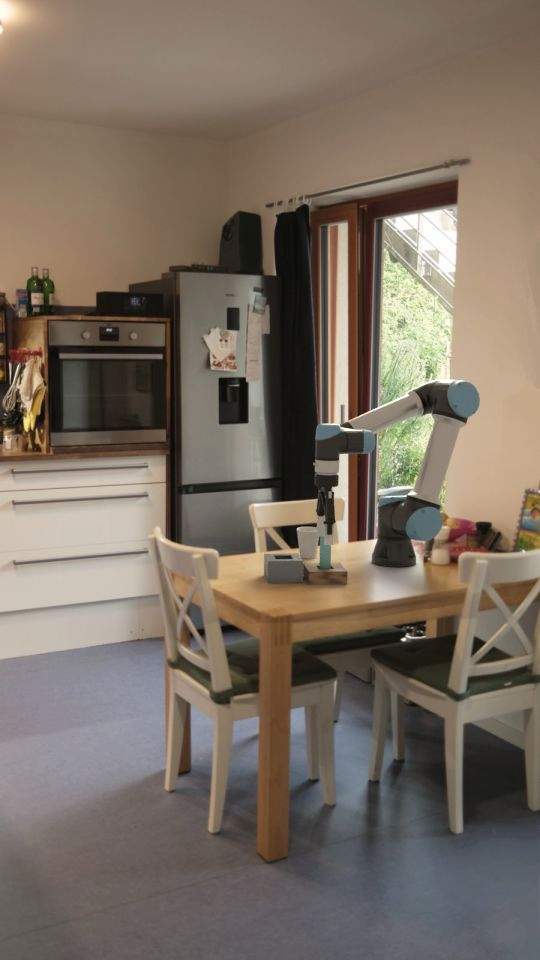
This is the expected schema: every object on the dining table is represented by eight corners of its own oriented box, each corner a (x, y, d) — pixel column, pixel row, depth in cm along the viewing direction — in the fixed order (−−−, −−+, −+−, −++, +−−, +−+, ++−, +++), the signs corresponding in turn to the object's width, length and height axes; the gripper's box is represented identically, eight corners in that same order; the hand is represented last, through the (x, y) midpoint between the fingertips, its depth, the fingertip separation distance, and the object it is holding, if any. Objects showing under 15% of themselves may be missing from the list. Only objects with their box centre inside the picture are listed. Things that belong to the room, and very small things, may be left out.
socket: (297, 574, 315) (298, 553, 314) (303, 582, 304) (303, 560, 303) (263, 575, 314) (264, 553, 313) (267, 583, 303) (268, 561, 302)
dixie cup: (316, 560, 337) (316, 531, 335) (293, 558, 339) (293, 530, 338) (322, 555, 345) (323, 527, 343) (299, 553, 347) (300, 525, 346)
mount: (339, 574, 315) (340, 562, 315) (347, 583, 304) (347, 571, 303) (303, 575, 314) (303, 563, 313) (309, 584, 302) (309, 571, 302)
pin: (329, 578, 311) (330, 535, 309) (331, 580, 307) (332, 537, 305) (318, 578, 310) (319, 535, 308) (320, 581, 307) (321, 537, 305)
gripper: (308, 468, 316) (306, 533, 319) (321, 478, 291) (319, 548, 294) (331, 468, 317) (329, 533, 320) (346, 478, 292) (344, 548, 295)
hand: (324, 540), depth 307 cm, fingers open, 13 cm apart
